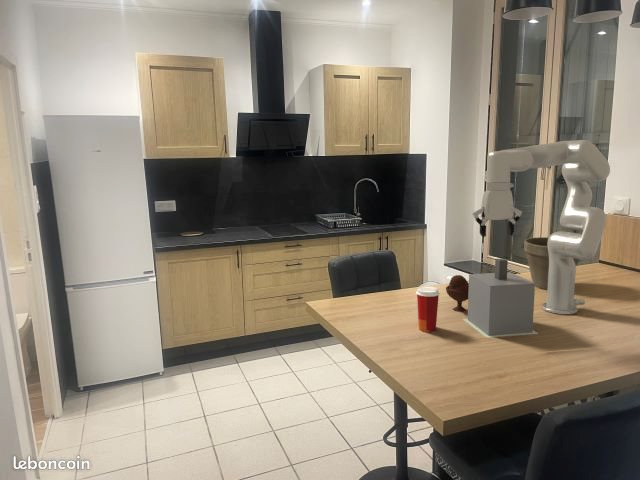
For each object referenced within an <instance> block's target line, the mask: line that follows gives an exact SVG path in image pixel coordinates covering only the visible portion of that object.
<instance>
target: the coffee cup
mask: <svg viewBox="0 0 640 480" xmlns="http://www.w3.org/2000/svg"><path fill="white" fill-rule="evenodd" d="M415 294H416V298H417V301H416V302H417V316H418V317H417V318H418V321H417V322H418V330H419V331H421V332H423V333H432V332H435V331H436V329H437V322H438V321H437V318H438V307H439V296H440V294H441V293H440V292H439V289H438V288H437V287H434V286H433V287H432V286H422V287H421V286H420V287H418V288H417V289H416V292H415Z"/></svg>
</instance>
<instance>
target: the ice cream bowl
mask: <svg viewBox="0 0 640 480" xmlns="http://www.w3.org/2000/svg"><path fill="white" fill-rule="evenodd" d="M445 290H446V291H445V292H446V294H447V295H448V296H449V297H450V298H451V299H453V300H454V301H456V303H457V306H455V307H453V308H452V310H453V311H455V312H459V313H462V312H463V313H464V312H466V311H467V309H466V308H465V307H464V306H463V302H465V301H468V291H469V280H467V279H466V278H465V277H464V276H463V275H460V274H456V275H453V276H452V277H451V278H450V281H449V283H448V285H447V286H446V287H445Z"/></svg>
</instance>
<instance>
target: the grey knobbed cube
mask: <svg viewBox="0 0 640 480" xmlns="http://www.w3.org/2000/svg"><path fill="white" fill-rule="evenodd" d="M508 261H509V260H508V259H506V258H503V257H502V258H495V261H494V262H495V263H494V272H490V273H489V272H486V273H473V274H472V273H471V274H470V273H469V274H468V283H469V291H468V300H467V319H468V321H470V322H471V323H472V324H474V325H475V326H476V327H478V328H479V329H480V330H482V331H483V332H484V333H485V334H487V335H488V336H493V335H506V334H519V333H532V330H533V329H534V311H535V310H534V308H535V294H536V293H535V291H536V287H535V283H534V282H532V280H529V279H527V278H524V277H522V276H520V275H517V274H515V273H513V272H510V271H508ZM533 331H534V330H533Z"/></svg>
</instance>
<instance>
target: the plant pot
mask: <svg viewBox="0 0 640 480" xmlns="http://www.w3.org/2000/svg"><path fill="white" fill-rule="evenodd" d="M548 238H549V237H548V236H547V237H539V236H538V237H530V238H525V239H524V242H523V245H524V246H523V250H524V252H526V253H525V254H526V259H527V263H528V268H529V272H530V278H531V282H534V283H535V288H538V289H541V290H546V291H547V289H548V273H549V253H548V246H547V242H548ZM573 260H574V262H575V265H576V266H577V265H578V262H579V260H580V259H575V258H573Z"/></svg>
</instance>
